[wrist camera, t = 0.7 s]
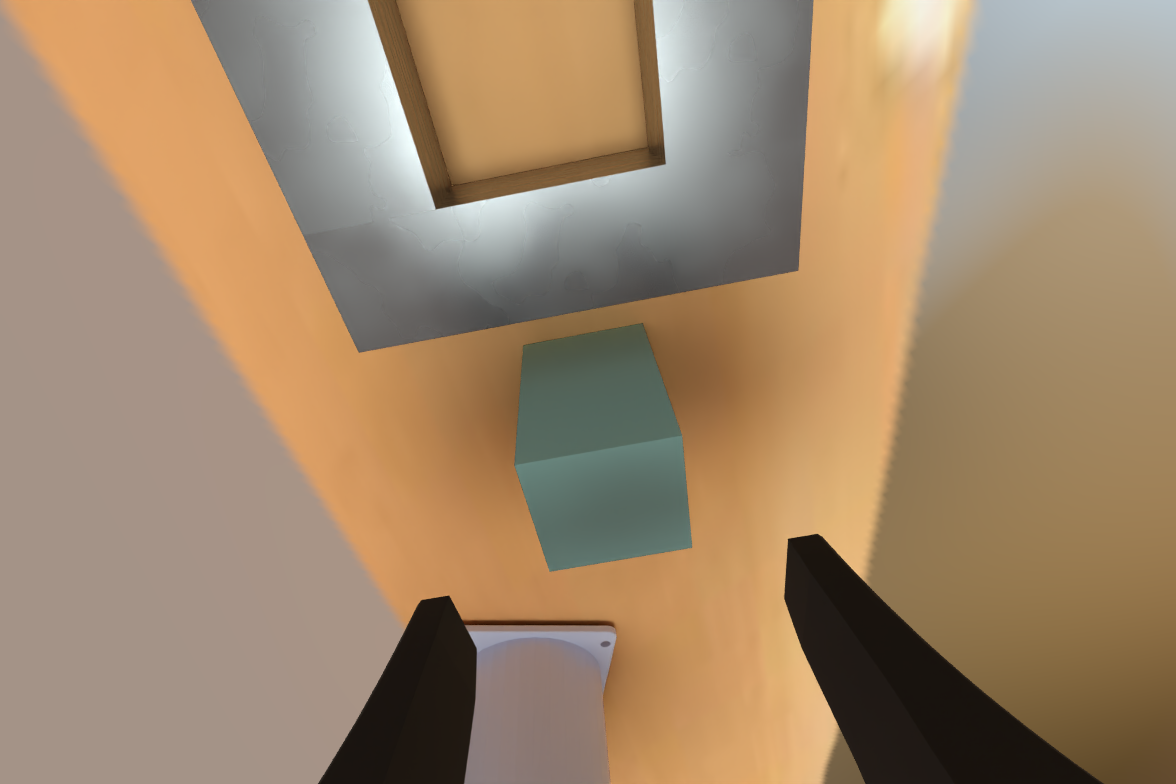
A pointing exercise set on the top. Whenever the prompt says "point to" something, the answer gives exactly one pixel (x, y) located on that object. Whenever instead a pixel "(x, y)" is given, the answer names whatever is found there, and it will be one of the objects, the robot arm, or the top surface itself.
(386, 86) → the square hole plate
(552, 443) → the peg block
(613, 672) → the top surface
